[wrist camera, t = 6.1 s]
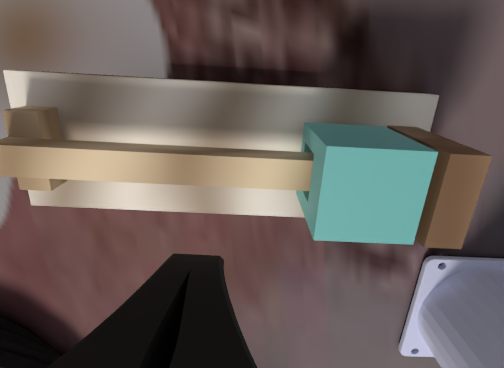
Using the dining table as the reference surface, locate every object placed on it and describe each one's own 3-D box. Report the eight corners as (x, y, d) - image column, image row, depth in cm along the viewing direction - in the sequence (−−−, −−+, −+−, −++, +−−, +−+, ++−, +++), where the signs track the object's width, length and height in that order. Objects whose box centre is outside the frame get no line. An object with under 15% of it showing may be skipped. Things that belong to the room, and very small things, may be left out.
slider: (384, 126, 16) (438, 151, 11) (370, 196, 17) (413, 244, 13) (304, 122, 16) (326, 146, 11) (296, 193, 17) (313, 240, 13)
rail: (430, 93, 16) (529, 111, 11) (400, 215, 19) (467, 283, 13) (14, 69, 16) (-121, 74, 10) (40, 199, 18) (-57, 262, 12)
